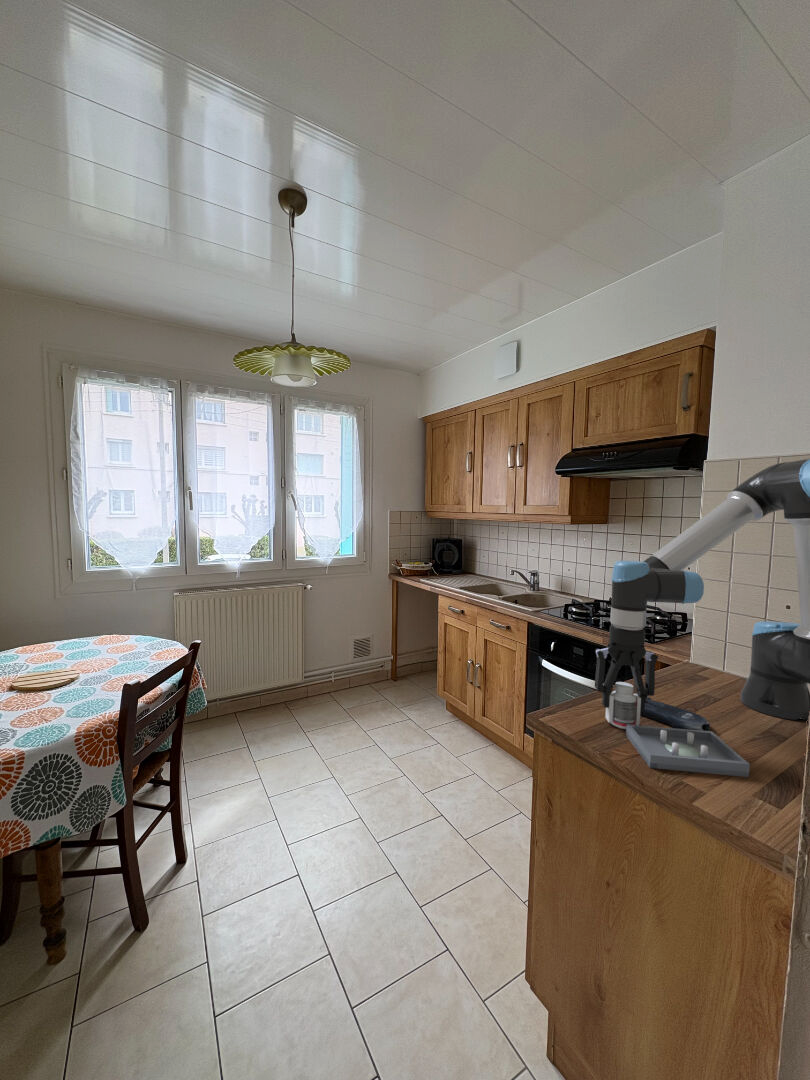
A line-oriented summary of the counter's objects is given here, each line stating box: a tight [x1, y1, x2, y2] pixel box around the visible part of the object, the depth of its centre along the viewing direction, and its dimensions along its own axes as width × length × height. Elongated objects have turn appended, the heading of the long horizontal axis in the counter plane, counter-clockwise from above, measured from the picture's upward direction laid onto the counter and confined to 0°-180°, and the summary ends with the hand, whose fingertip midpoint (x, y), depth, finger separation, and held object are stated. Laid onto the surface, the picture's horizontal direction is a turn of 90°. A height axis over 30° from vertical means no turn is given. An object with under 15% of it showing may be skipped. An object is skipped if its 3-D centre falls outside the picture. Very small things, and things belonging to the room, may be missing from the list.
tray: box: [625, 724, 751, 778], centre depth 92 cm, size 18×13×4 cm
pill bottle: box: [610, 681, 636, 730], centre depth 105 cm, size 5×5×10 cm
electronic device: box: [640, 696, 711, 731], centre depth 108 cm, size 9×6×15 cm
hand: (622, 721), depth 105 cm, fingers closed on pill bottle, 5 cm apart
